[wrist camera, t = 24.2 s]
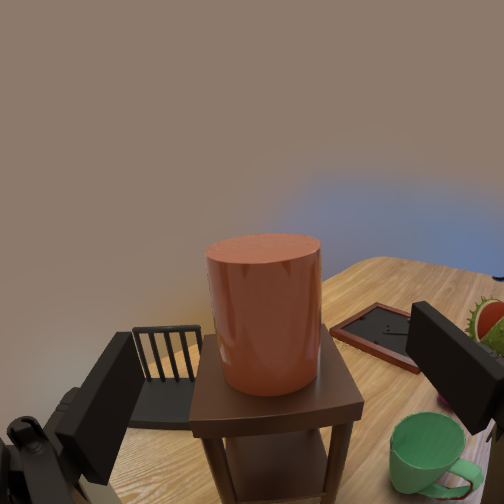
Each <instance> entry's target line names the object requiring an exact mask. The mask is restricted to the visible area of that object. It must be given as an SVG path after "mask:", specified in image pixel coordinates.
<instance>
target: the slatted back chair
mask: <svg viewBox="0 0 504 504" xmlns="http://www.w3.org/2000/svg"><path fill="white" fill-rule="evenodd" d="M191 331H192V332H193V331H195V333H196V338H197V344H198V349H199V354H200V355H201V349H202V344H203V341H202V335H201V327H200V326H199V325H181V326H158V327H134V328H133V329H132V332H133V334H134V338H135V341H136V345H137V348H138V352H139V355H140V359H141V362H142V365H143V369H144V372H145V375H146V378H145V379H146V380H145V382H144V385H143V387H142V390H141V392H140V395H139V398H138V400H137V403H136V405H135V408H134V411H133V413H132V416H131V419H130V422H129V424H128V427H133V428H147V429H168V430H192V429H191V426H190V423H189V416H190V410H191V404H192V398H193V393H194V387H195V382H196V378H194V374H193V370H192V365H191V361H190V356H189V351H188V346H187V341H186V336H185V332H191ZM170 332H171V333H172V332H179V334H180V339H181V344H182V348H183V353H184V357H185V362H186V366H187V371H188V375H189V378H179V374H178V370H177V366H176V362H175V357H174V353H173V349H172V345H171V340H170V336H169V333H170ZM139 333H148V334H149V339H150V342H151V347H152V350H153V354H154V358H155V361H156V365H157V368H158V372H159V375H160V378H151V375H150V372H149V368H148V365H147V362H146V358H145V355H144V351H143V348H142V344H141V340H140V337H139ZM154 333H164V338H165V342H166V346H167V350H168V354H169V359H170V362H171V366H172V370H173V374H174V378H165V375H164V372H163V368H162V364H161V361H160V357H159V353H158V350H157V345H156V342H155V338H154Z"/></svg>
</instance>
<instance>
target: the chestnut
mask: <svg viewBox="0 0 504 504" xmlns="http://www.w3.org/2000/svg"><path fill="white" fill-rule="evenodd" d="M483 297H484V296H483ZM481 298H482V296H481ZM475 304H476V307H477V309H476V311H474V312H473V311H470V312H471V313H472V314H473V316H472V319H467V320H469V321H470V324H468V325H470V327H469V328H467V329H465V330H466V331H465V332H469V333H470V336H469V337H470V338H471V339H472V340H474V341H475V342H476V341H478V342H480V343H482V344H485V345H487V346H488V347H489V348H490V349H492V350H493V351H494V353H496V354H497V355H498V354H502V356H503V358H504V303H503V302H501V301H499V300H497V299H493V298H492V295H491V299H488V300H486V299H485V297H484V299H483V298H482V303H481V304H480V305H478V304H477V303H476V302H475Z"/></svg>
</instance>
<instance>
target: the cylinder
mask: <svg viewBox="0 0 504 504" xmlns="http://www.w3.org/2000/svg"><path fill="white" fill-rule="evenodd" d="M205 258H206V266H207V275H208V282H209V290H210V297H211V304H212V311H213V318H214V325H215V332H216V339H217V345H218V351H219V358H220V364H221V370H222V374H223V377H224V379H225V380H226V382H227V383H228V384H229V385H230V386H232V387H233V388H235V389H236V390H238V391H240V392H243V393H246V394H249V395H254V396H264V397H271V396H280V395H285V394H289V393H292V392H295V391H298V390H300V389H302V388H303V387H305V386H307V385H308V384H309V383H311V382H312V381H313V380H314V378H315V377H316V376H317V374H318V372H319V369H320V353H321V306H322V278H321V277H322V275H321V243H320V242H319V241H318V240H317V239H315V238H312V237H309V236H305V235H299V234H288V233H267V234H255V235H246V236H240V237H235V238H230V239H227V240H223V241H220V242H217V243H215V244H213V245H211V246H209V247H208V248H207V249H206V250H205Z"/></svg>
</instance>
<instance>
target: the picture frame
mask: <svg viewBox="0 0 504 504" xmlns="http://www.w3.org/2000/svg"><path fill="white" fill-rule="evenodd" d="M410 317H411V314H410V313H407V312H404V311H401V310H398V309H395V308H392V307H389V306H386V305H383V304H380V303H377V302H376V303H374V304H372V305H371V306H369V307H367V308H366V309H364V310H362V311H360V312H359V313H357V314H355V315H353V316H352V317H350V318H348V319H346V320H345V321H343V322H341V323H339V324H337V325H336V326H334V327H332V328H330V329H329V333H330V335H331V336H332V337H334V338H337V339H339V340H341V341H343V342H345V343H347V344H349V345H352V346H354V347H356V348H358V349H360V350H363V351H365V352H367V353H369V354H371V355H374V356H376V357H378V358H380V359H383V360H385V361H387V362H389V363H392V364H394V365H396V366H398V367H401V368H403V369H405V370H408V371H410V372H412V373H414V374H417V375H418V374H419V373H420V372H421V370H420V369H419V367H418V366H417V365H416V364H415V363H414V361H413V360H412V359H411V358H410V357H409V355H408V354H407V353H406V352H405V348H406V342H407V336H408V330H409V323H410Z"/></svg>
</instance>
